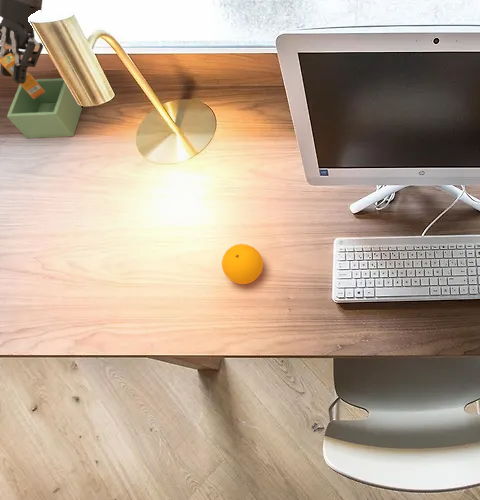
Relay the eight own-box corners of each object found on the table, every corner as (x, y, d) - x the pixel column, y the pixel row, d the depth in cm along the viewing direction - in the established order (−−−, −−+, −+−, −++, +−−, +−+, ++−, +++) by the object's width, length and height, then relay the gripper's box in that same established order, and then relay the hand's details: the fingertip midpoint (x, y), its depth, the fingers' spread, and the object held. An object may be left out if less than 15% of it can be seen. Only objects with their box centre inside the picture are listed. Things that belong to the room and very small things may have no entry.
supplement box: (26, 93, 115) (-3, 59, 106) (39, 85, 116) (11, 50, 107) (33, 100, 114) (3, 66, 105) (46, 92, 115) (18, 58, 106)
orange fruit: (273, 265, 101) (266, 248, 94) (249, 296, 98) (240, 280, 91) (243, 247, 103) (234, 229, 97) (219, 276, 100) (208, 260, 94)
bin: (27, 138, 120) (6, 116, 113) (39, 102, 125) (21, 79, 119) (73, 136, 120) (56, 114, 113) (84, 100, 125) (68, 77, 118)
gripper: (-20, -18, 101) (-26, 65, 108) (25, 4, 97) (16, 89, 104) (17, -9, 108) (9, 69, 114) (60, 12, 104) (50, 92, 110)
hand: (12, 78), depth 109 cm, fingers closed on supplement box, 3 cm apart
